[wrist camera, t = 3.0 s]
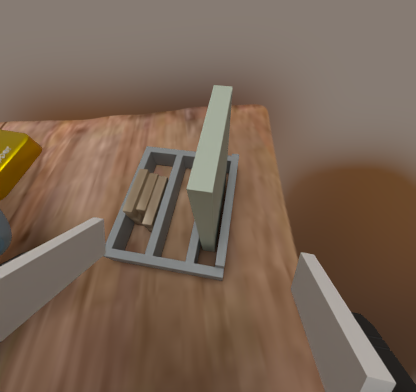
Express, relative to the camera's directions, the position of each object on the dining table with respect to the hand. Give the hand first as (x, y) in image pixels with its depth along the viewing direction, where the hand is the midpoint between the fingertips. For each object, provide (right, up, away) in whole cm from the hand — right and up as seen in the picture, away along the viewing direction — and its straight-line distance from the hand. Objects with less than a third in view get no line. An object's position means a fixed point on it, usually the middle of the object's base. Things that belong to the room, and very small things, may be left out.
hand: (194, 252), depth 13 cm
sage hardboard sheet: (+2, 0, +22) cm, 23 cm away
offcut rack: (-4, +1, +23) cm, 24 cm away
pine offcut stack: (-9, +2, +24) cm, 26 cm away
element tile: (-45, +10, +30) cm, 55 cm away
